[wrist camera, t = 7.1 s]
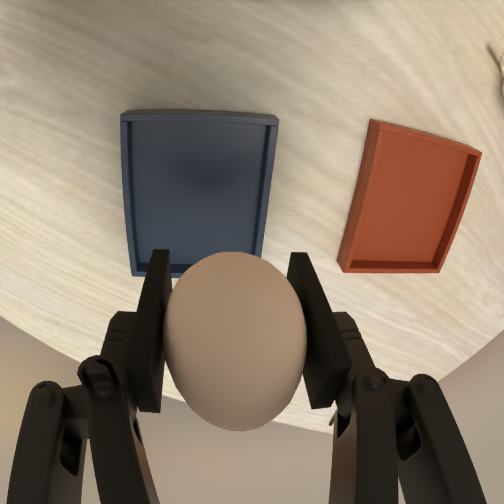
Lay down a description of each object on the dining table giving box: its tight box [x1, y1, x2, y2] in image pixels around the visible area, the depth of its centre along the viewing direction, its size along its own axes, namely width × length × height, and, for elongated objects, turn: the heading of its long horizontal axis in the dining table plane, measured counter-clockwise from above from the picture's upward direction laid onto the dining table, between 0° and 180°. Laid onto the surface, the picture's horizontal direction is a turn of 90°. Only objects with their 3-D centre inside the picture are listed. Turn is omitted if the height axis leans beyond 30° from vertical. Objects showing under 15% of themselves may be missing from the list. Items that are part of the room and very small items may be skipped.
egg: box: [162, 252, 307, 431], centre depth 12 cm, size 6×6×8 cm
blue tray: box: [120, 110, 279, 278], centre depth 27 cm, size 15×12×2 cm
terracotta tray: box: [337, 119, 482, 273], centre depth 30 cm, size 15×13×2 cm
